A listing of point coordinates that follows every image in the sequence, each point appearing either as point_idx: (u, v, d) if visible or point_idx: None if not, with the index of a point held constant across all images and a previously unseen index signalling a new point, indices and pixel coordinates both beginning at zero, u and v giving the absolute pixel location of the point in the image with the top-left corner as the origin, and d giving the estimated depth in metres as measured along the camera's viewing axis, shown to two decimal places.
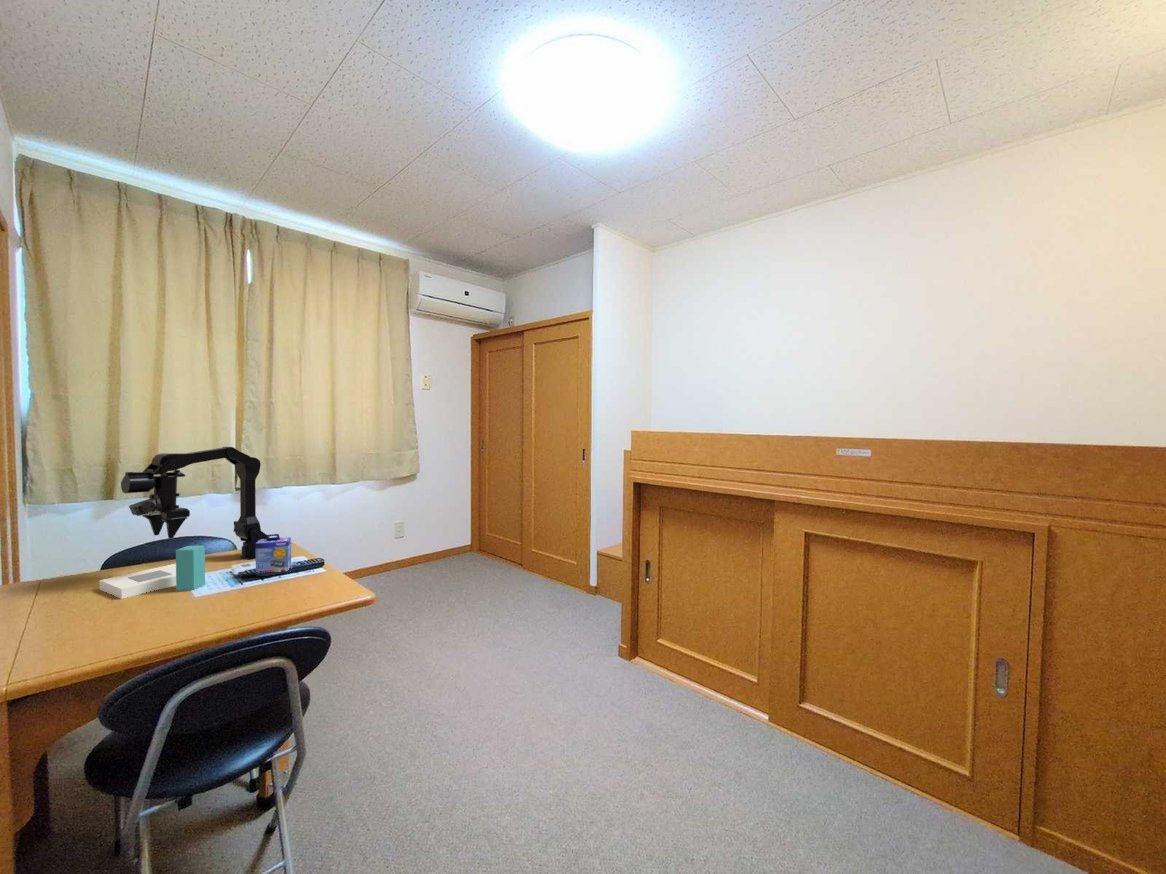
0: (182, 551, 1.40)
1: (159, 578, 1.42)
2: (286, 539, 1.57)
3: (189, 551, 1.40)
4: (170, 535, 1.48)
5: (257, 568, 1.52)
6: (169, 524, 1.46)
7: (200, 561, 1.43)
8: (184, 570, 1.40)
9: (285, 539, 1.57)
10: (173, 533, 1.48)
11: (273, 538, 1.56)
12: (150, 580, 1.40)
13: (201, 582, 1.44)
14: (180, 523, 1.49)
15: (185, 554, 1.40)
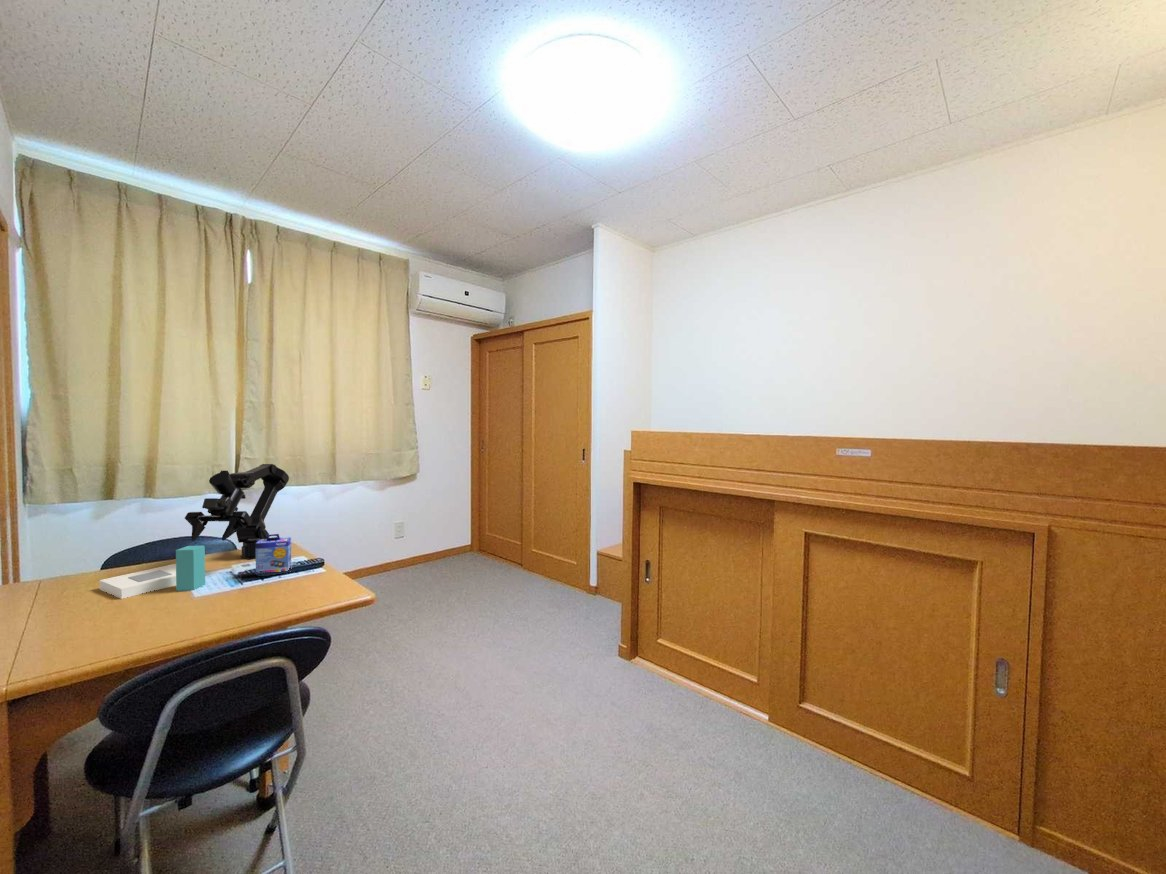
0: (182, 551, 1.40)
1: (159, 578, 1.42)
2: (286, 539, 1.57)
3: (189, 551, 1.40)
4: (225, 537, 1.51)
5: (257, 568, 1.52)
6: (233, 525, 1.53)
7: (200, 561, 1.43)
8: (184, 570, 1.40)
9: (285, 539, 1.57)
10: (227, 536, 1.52)
11: (273, 538, 1.56)
12: (150, 580, 1.40)
13: (201, 582, 1.44)
14: (236, 530, 1.55)
15: (185, 554, 1.40)
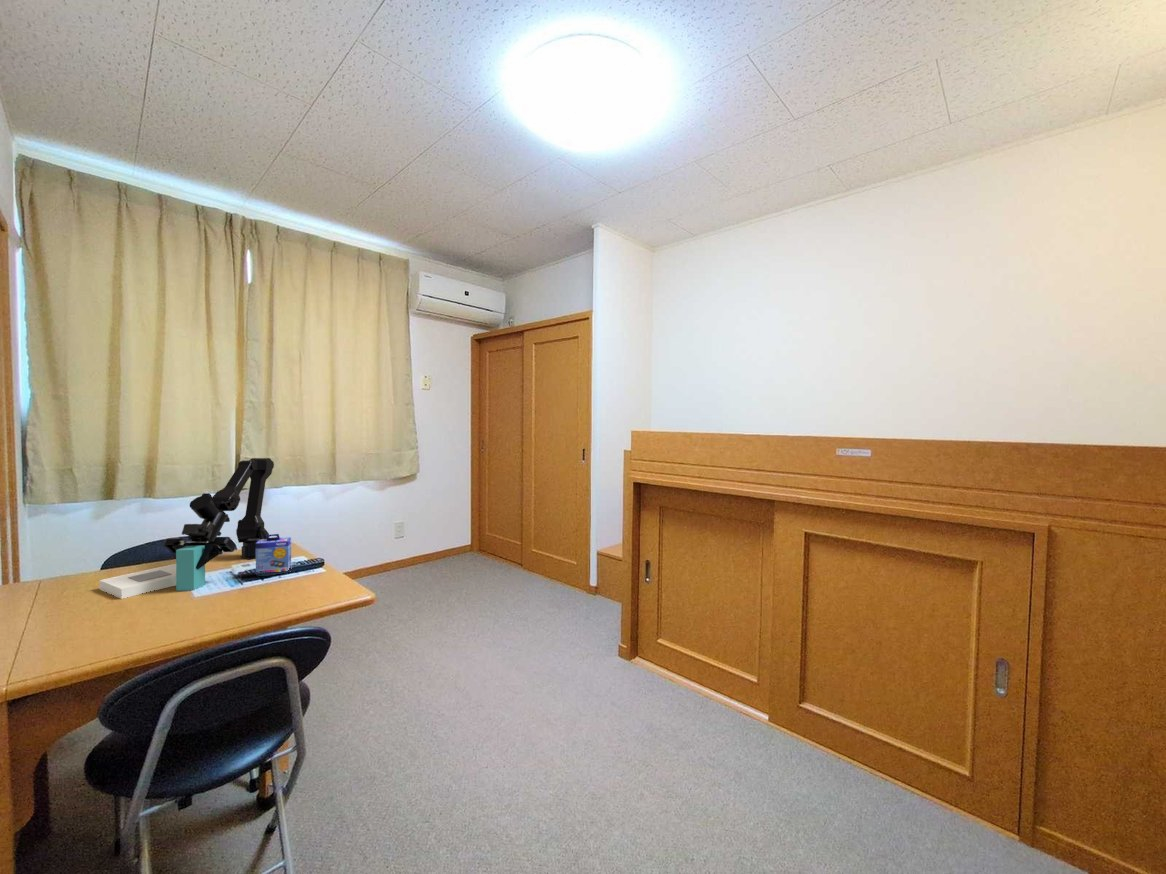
0: (182, 551, 1.40)
1: (159, 578, 1.42)
2: (286, 539, 1.57)
3: (189, 551, 1.40)
4: (199, 565, 1.42)
5: (257, 568, 1.52)
6: (208, 552, 1.44)
7: None
8: (184, 569, 1.40)
9: (285, 539, 1.57)
10: (202, 564, 1.43)
11: (273, 538, 1.56)
12: (150, 580, 1.40)
13: (201, 582, 1.44)
14: (212, 557, 1.46)
15: (185, 554, 1.40)
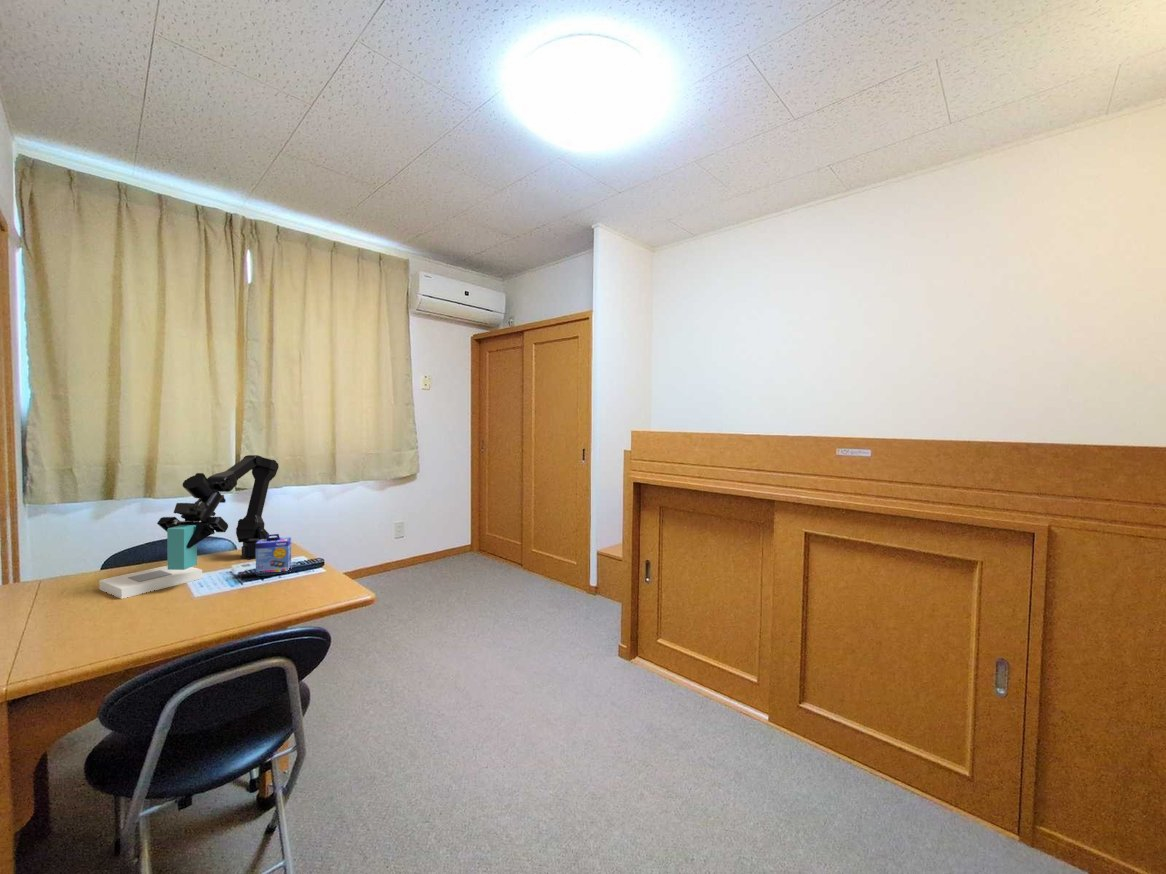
0: (173, 530, 1.39)
1: (159, 578, 1.42)
2: (286, 539, 1.57)
3: (180, 530, 1.39)
4: (190, 544, 1.41)
5: (257, 568, 1.52)
6: (199, 531, 1.43)
7: None
8: (175, 548, 1.39)
9: (285, 539, 1.57)
10: (193, 543, 1.42)
11: (273, 538, 1.56)
12: (150, 580, 1.40)
13: (192, 562, 1.43)
14: (204, 536, 1.45)
15: (176, 533, 1.39)
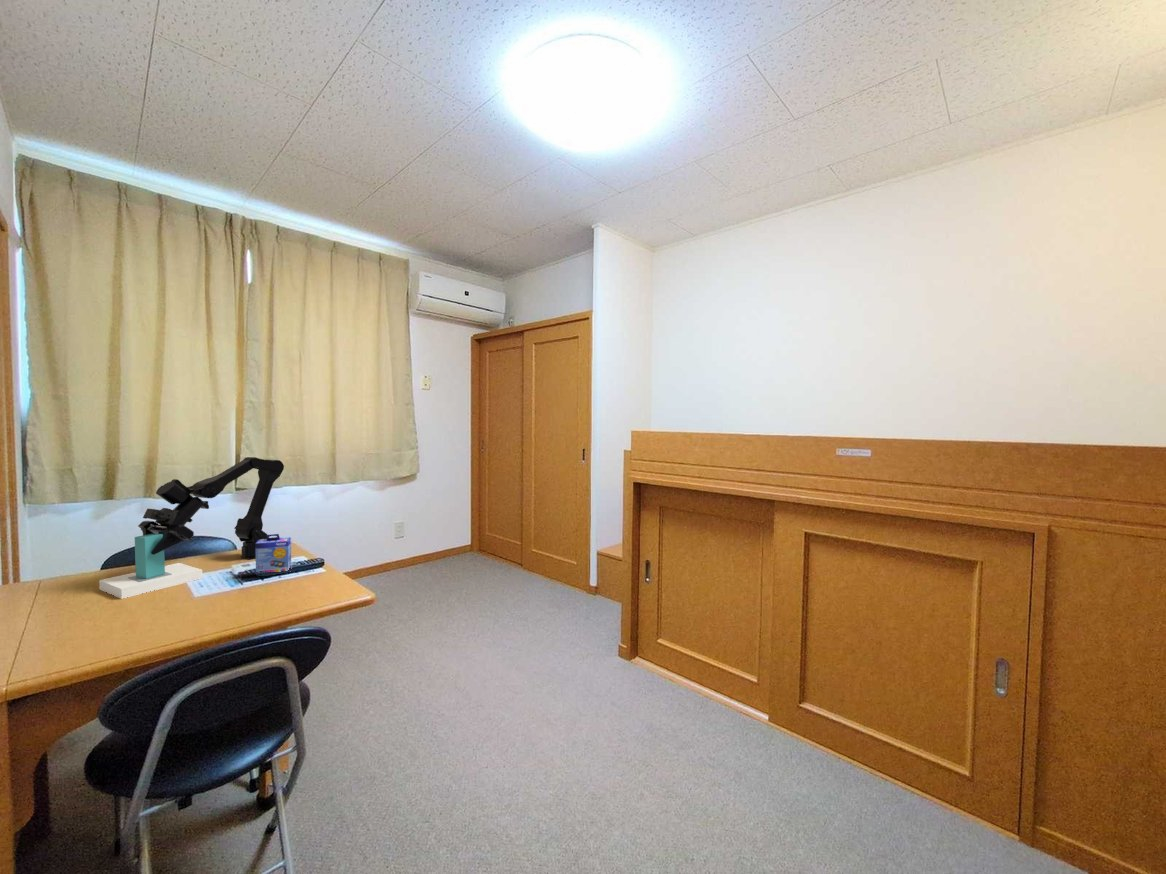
0: (138, 538, 1.42)
1: (159, 578, 1.42)
2: (286, 539, 1.57)
3: (142, 539, 1.41)
4: (155, 551, 1.42)
5: (257, 568, 1.52)
6: (165, 538, 1.43)
7: None
8: (140, 557, 1.42)
9: (285, 539, 1.57)
10: (158, 550, 1.43)
11: (273, 538, 1.56)
12: (150, 580, 1.40)
13: (158, 571, 1.44)
14: (172, 543, 1.45)
15: (140, 542, 1.41)
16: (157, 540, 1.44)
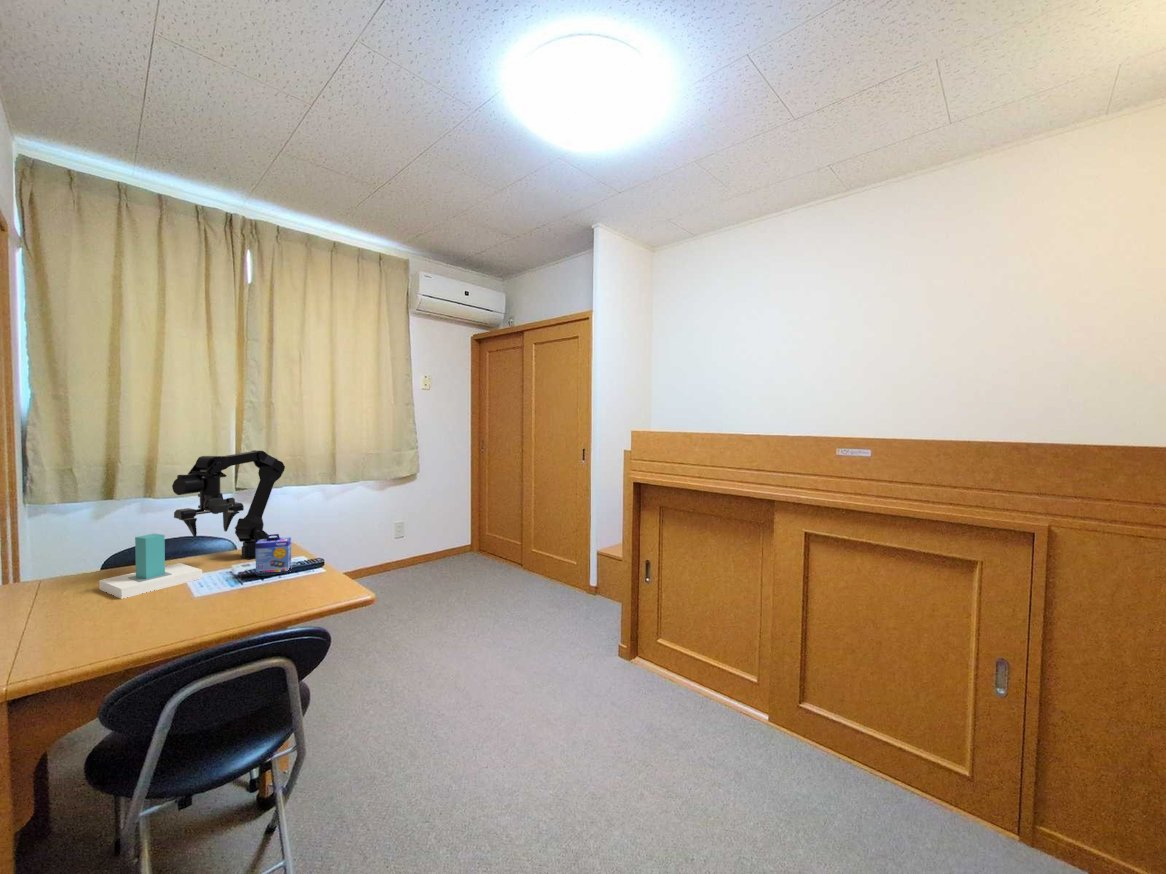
0: (139, 539, 1.42)
1: (159, 578, 1.42)
2: (286, 539, 1.57)
3: (143, 539, 1.41)
4: None
5: (257, 568, 1.52)
6: None
7: (157, 550, 1.44)
8: (140, 557, 1.42)
9: (285, 539, 1.57)
10: None
11: (273, 538, 1.56)
12: (150, 580, 1.40)
13: (158, 571, 1.44)
14: None
15: (140, 542, 1.41)
16: (158, 540, 1.44)
